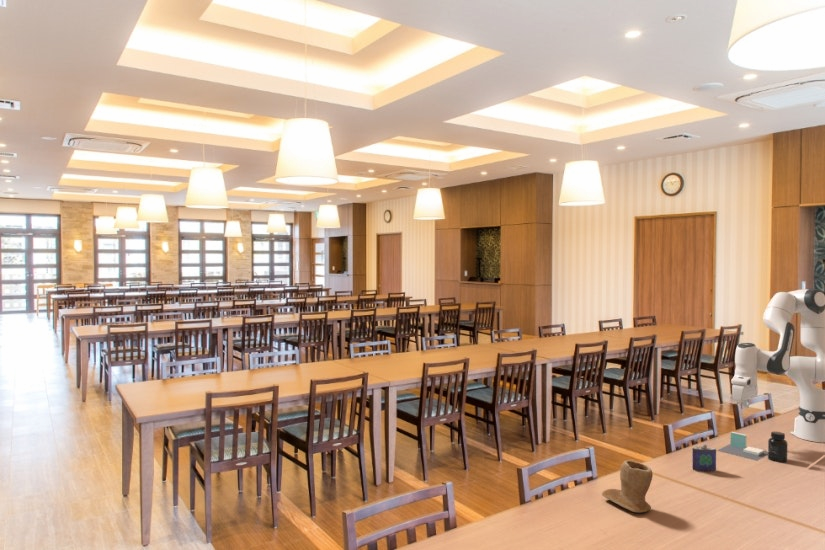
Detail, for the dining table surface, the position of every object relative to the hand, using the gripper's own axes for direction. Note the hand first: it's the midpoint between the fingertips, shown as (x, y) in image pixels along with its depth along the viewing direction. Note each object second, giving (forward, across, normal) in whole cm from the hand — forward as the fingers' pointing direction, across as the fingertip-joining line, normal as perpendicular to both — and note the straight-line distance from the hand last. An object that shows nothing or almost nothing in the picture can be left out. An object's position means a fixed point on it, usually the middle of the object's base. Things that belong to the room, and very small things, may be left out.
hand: (745, 408), depth 252 cm
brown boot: (+17, +101, -1) cm, 102 cm away
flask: (+17, +47, +2) cm, 50 cm away
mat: (+17, +12, +4) cm, 21 cm away
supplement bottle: (+17, +12, +17) cm, 27 cm away
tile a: (+16, +8, +7) cm, 19 cm away
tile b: (+16, +7, 0) cm, 18 cm away
